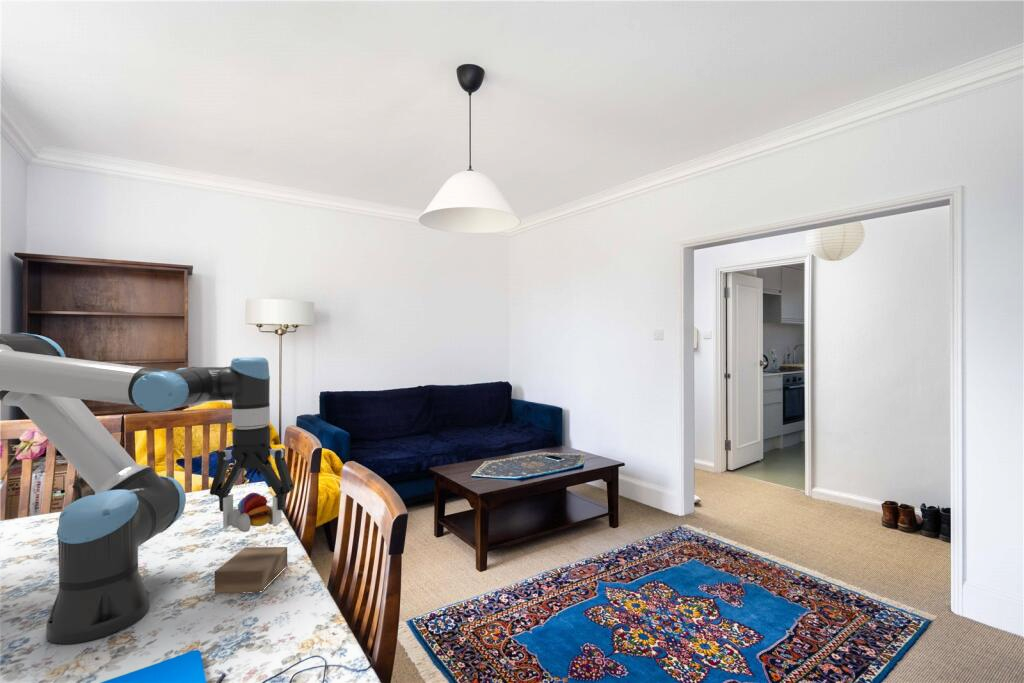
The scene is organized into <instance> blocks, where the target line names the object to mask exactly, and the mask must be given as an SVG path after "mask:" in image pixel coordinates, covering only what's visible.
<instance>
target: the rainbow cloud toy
mask: <svg viewBox="0 0 1024 683" xmlns="http://www.w3.org/2000/svg"><path fill="white" fill-rule="evenodd" d="M267 503H268V499H267V497H266V496H264V495H261V494H260V493H258V492H249V493H247V494H246V496H244V497H242V498H241V499H240V501H239V502H238V504H237V508H235V509H233V511H232V512H231V513H230V515H229V517H228V522H229V524H230V526H231V527H232V528H237V529H238V531H240V532H241V533H246V532H249V531H250V529H251V527H263V526H265V525H267V524H268V525H273V505H268V504H267Z"/></svg>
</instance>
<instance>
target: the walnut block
mask: <svg viewBox="0 0 1024 683" xmlns="http://www.w3.org/2000/svg"><path fill="white" fill-rule="evenodd" d="M286 566H287V567H288V546H264V547H263V546H260V547H259V546H258V547H257V546H256V547H254V546H253V547H252V546H250V547H248V546H247V547H244V548H242V549H241V550H239V552H238V553H236V554H235V555H234V556H232V557H231V558H230V559H228V561H226V562H225V563H223V564H222V565H221V566H220V567H219V568H218V569H216V570H214V573H213V574H214V595H215V594H218V595H220V594H221V595H222V594H227V593H228V594H244V593H243V592H246V593H245V594H248V593H247V592H260V591H263V590H264V588H265V587H266V586H267V585H268V584H269V583H270V582H271V581H272V580H273V579H274V578H275V577H276V576H277V575H278V574H279V573H280V572H281V571H282V570H283V569H284V568H285V567H286ZM264 591H265V590H264ZM264 591H263V592H264Z"/></svg>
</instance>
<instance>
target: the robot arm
mask: <svg viewBox="0 0 1024 683" xmlns="http://www.w3.org/2000/svg"><path fill="white" fill-rule="evenodd" d="M270 380H271V376H270V365H269V361H268V359H267V358H265V357H260V356H259V357H258V356H257V357H235V358H232V359H231V361H230V365H229V366H224V367H223V366H220V367H219V366H215V367H214V366H211V367H210V366H207V367H205V366H187V367H179V368H177V369H174V370H173V369H170V370H169V369H160V368H152V367H145V366H137V365H128V364H121V363H114V362H113V363H112V362H105V361H97V360H88V359H81V358H80V359H79V358H73V357H66V354H65V352H64V350H63V349H62V347H61V346H60V345H59V344H58V343H57V342H55V341H54V340H52V339H50V338H48V337H46V336H43V335H38V334H34V333H33V334H31V333H26V332H13V333H0V401H1V403H3V405H4V406H7V407H8V406H9V407H18V408H20V409H21V410H22V412H23V413H25V415H26V416H27V418H29V420H30V421H31V422H32V423H33V424H34V425H35V426H36V428H38V429H39V431H40V432H41V433H42V434H43V435H44V436H45V437H46V438H47V440H48V441H49V442H50V443H51V444H52V446H54V448H55V449H56V450H57V451H58V452H59V453H60V454H61V455H62V456H63V458H64V459H65V460H66V461H67V462H68V463H69V464H70V465H71V466H72V468H74V470H75V471H76V472H77V473H78V474H80V475H81V476H82V478H83V479H84V480H85V481H86V482H87V483H88V484H89V485H90V486H91V488H92V489H93V490H94V491H95V495H89V496H86V497H83V498H81V499H78V500H76V501H74V500H73V501H74V502H71V503H70V504H68V505H67V506H65V507H64V508H63V509H62V511H61V512H60V514H59V516H58V517H59V518H58V526H57V530H56V535H57V539H58V540H57V543H58V544H57V545H58V550H57V551H58V593H57V595H56V598H55V600H54V603H53V606H52V608H51V611H50V615H49V617H48V619H47V621H46V622H47V623H46V632H45V633H46V639H47V640H48V642H50V643H53V644H59V645H62V644H63V645H70V644H78V643H83V642H84V643H85V642H88V641H92V640H97V639H100V638H103V637H105V636H108V635H111V634H114V633H117V632H120V631H121V630H123V629H127V628H128V627H129V626H132V625H133V624H134V623H136V622H137V621H139V620H140V619H142V618H143V617H145V615H146V614H147V613H148V612H149V610H150V603H151V602H150V601H151V600H150V593H149V592H148V590H147V589H146V586H145V583H144V581H143V579H142V576H141V574H140V572H139V547H140V546H142V545H143V544H144V543H146V542H147V541H149V540H150V539H152V538H154V537H156V536H157V535H159V534H161V533H163V532H165V531H166V530H168V528H171V526H172V525H173V524H174V523H175V522H177V521H178V520H179V519H180V518H181V516H182V514H183V512H185V511H184V510H185V509H186V508H185V506H186V503H187V502H186V501H187V495H186V492H185V489H184V487H183V486H182V484H181V483H180V482H179V481H178V480H176V479H175V478H173V477H171V476H164V475H159V474H158V473H157V472H156V471H155V470H154V469H153V468H152V466H150V465H142V464H141V465H140V464H139V463H137V462H136V461H135V460H134V459H133V458H132V457H131V455H130V454H129V453H128V452H127V451H126V450H125V448H124V447H123V446H122V445H121V444H120V443H119V442H118V441H117V439H116V438H115V437H114V436H113V435H112V434H111V433H110V431H109V430H108V429H107V428H106V427H105V426H104V425H103V424H102V423H101V421H100V420H99V419H98V418H97V417H96V416H95V415H94V413H93V412H92V411H91V410H90V408H88V406H87V405H86V404H85V403H84V402H83V401H82V400H87V401H96V402H103V403H104V402H105V403H111V404H112V403H113V404H122V405H130V406H138V407H139V408H141V409H143V411H146V412H153V413H154V412H155V413H157V412H158V413H159V412H168V411H172V410H175V409H177V408H181V407H186V406H189V405H194V404H197V403H204V402H212V401H213V402H214V401H217V402H218V401H231V425H232V427H234V428H233V429H232V431H231V433H232V437H231V438H232V441H231V443H232V445H233V446H232V447H233V448H232V449H230V450H229V449H228V448H226V449H223V450H221V451H219V452H218V453H217V459H218V460H217V461H218V463H217V464H216V469H215V472H214V476H213V480H212V483H211V485H210V490H209V494H210V496H217V497H218V499H219V500H218V502H219V511H220V512H222V516H223V517H222V523H223V524H222V525H223V529H224V528H226V529H227V528H228V527H229V526H231V525H230V524H229V522H228V517H229V515H230V513H231V512H232V511H234V494H231V492H232V490H233V487H234V485H235V484H236V482H237V480H238V479H239V477H240V474H242V471H243V470H244V469H258V471H260V472H261V473H262V474H263V476H264V478H265V479H266V480H267V482H268V484H269V485H270V487H271V489H272V491H273V493H274V494H275V495H273V496H272V506H273V524H272V526H273V527H277V526H278V525H280V524H281V523H282V522H283V521H282V520H283V518H282V516H283V515H282V512H283V510H284V509H285V508H286V494H289V493H290V492H292V491H293V490H294V489H295V486H294V482H293V479H292V476H291V473H290V469H289V467H288V464H287V461H286V457H285V456H286V450H285V448H283V447H281V448H279V449H278V448H275V449H274V448H272V447H271V427H270V425H268V424H270V422H271V414H270V412H271V411H270V410H271V409H270V408H271V407H270V405H271V404H270V403H271V402H270V396H271V395H270V394H271V393H270V388H271V387H270ZM271 456H272V460H274V464H275V467H276V470H277V472H276V471H275V469H274V468H273V466H272V465H273V464H272V462H271V461H270V459H269V458H270V457H271ZM232 458H233V459H234V460H235V463H234V465H233V466H232V468H231V471H230V473H229V474H228V476H227V475H226V474H227V472H228V468H229V464H230V460H231V459H232ZM277 474H278V475H277ZM226 476H227V478H226ZM225 478H226V480H225Z"/></svg>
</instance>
